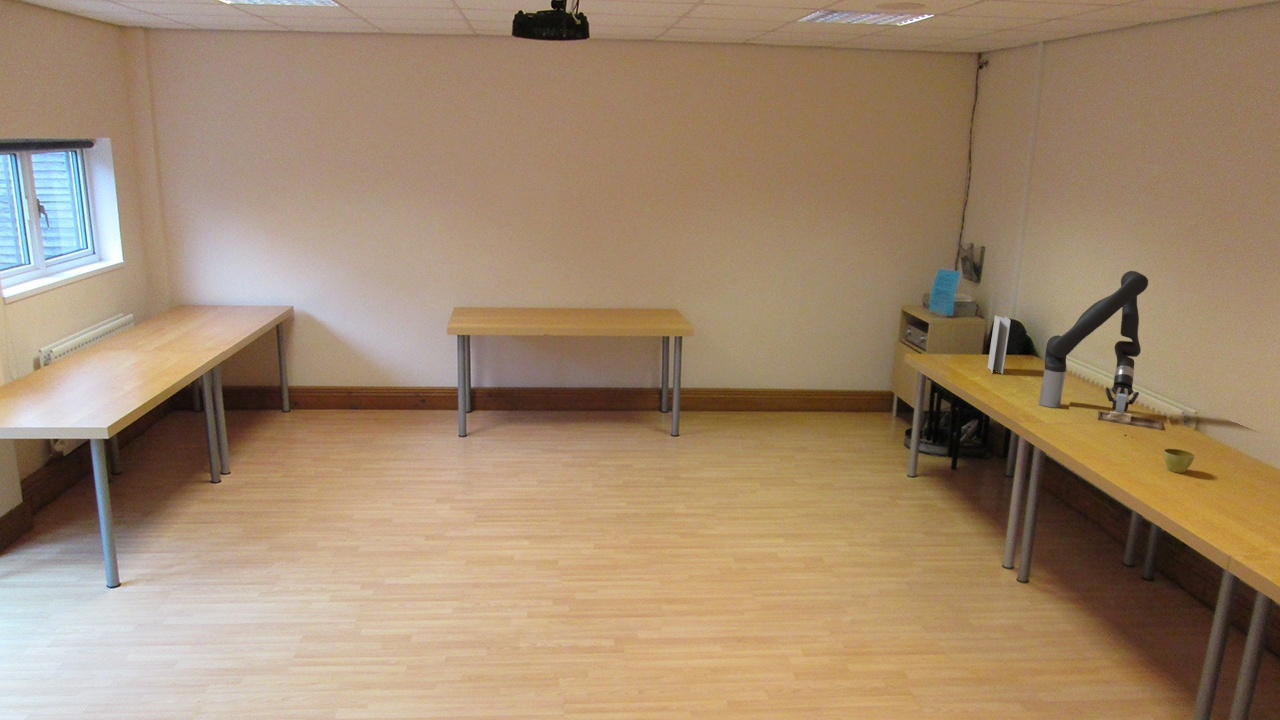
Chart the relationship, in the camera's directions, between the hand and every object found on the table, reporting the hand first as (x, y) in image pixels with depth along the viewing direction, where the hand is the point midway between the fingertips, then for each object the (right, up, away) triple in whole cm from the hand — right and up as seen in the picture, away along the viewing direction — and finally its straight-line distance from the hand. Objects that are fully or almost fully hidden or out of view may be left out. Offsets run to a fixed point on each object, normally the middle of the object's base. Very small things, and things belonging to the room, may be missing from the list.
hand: (1119, 409), depth 392 cm
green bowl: (-12, -20, -60) cm, 64 cm away
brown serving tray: (+4, -7, -1) cm, 8 cm away
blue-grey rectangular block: (+1, -4, +3) cm, 5 cm away
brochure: (-19, +16, +91) cm, 95 cm away
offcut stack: (-2, -5, -2) cm, 6 cm away
